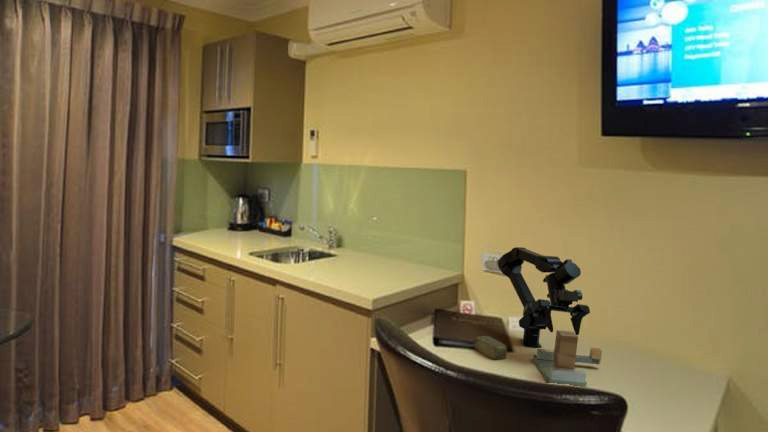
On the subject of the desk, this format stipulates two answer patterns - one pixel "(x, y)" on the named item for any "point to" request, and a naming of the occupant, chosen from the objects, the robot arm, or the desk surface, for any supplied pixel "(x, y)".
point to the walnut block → (565, 349)
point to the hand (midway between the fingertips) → (564, 333)
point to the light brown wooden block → (593, 358)
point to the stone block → (491, 347)
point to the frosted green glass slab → (560, 373)
